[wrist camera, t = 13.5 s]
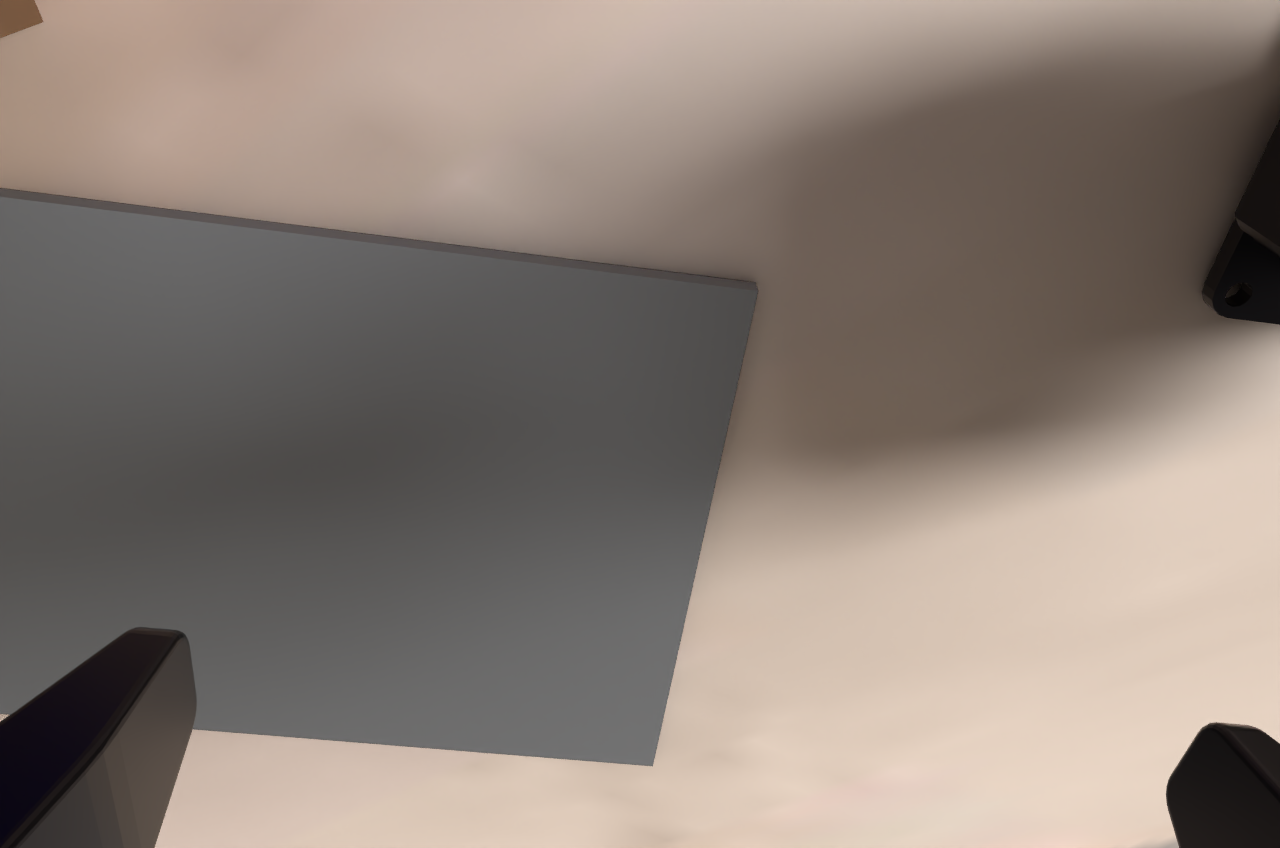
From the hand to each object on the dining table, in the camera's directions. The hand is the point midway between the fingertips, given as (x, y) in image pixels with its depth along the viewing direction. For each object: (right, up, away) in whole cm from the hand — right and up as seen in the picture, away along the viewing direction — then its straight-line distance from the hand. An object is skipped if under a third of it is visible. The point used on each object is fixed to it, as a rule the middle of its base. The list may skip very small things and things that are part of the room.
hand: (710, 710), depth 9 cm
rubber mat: (-13, +1, +13) cm, 19 cm away
